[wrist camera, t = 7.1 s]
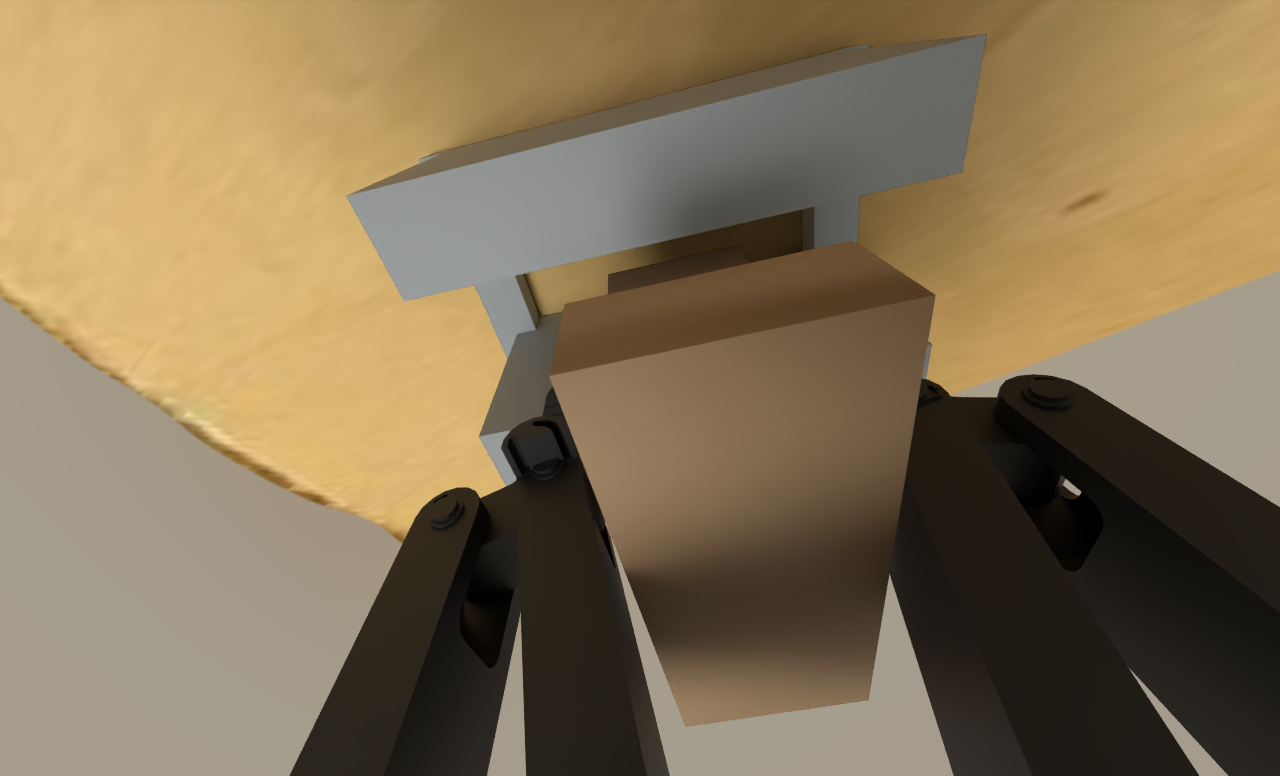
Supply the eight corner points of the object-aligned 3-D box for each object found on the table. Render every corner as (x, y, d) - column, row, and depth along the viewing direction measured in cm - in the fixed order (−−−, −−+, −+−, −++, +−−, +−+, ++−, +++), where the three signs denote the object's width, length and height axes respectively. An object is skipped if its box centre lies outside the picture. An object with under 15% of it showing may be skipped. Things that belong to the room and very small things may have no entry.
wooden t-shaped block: (586, 189, 13) (539, 377, 5) (728, 155, 12) (945, 292, 4) (649, 431, 18) (680, 726, 10) (751, 411, 17) (873, 699, 9)
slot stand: (430, 154, 20) (310, 205, 12) (851, 46, 18) (1031, 22, 10) (523, 370, 26) (485, 496, 18) (840, 303, 25) (947, 407, 17)
